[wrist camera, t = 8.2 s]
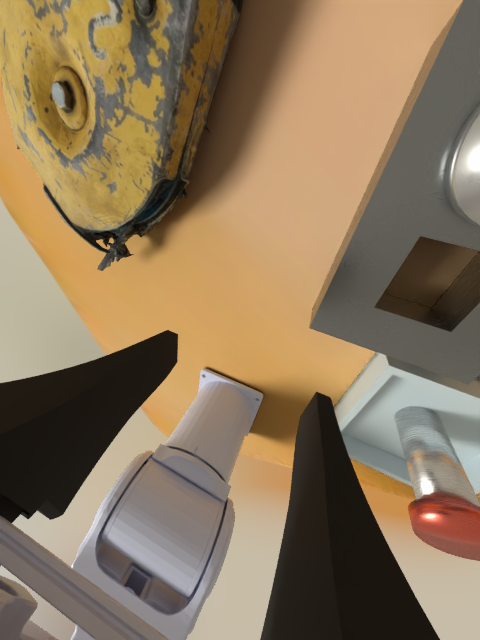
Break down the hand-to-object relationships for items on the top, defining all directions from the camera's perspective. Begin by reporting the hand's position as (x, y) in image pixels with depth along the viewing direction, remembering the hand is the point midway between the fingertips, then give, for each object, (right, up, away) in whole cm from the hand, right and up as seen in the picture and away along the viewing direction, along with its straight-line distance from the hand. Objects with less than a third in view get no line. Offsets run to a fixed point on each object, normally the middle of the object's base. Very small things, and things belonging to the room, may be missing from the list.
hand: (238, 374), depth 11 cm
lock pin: (+15, -6, +8) cm, 18 cm away
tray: (+16, -6, +9) cm, 19 cm away
